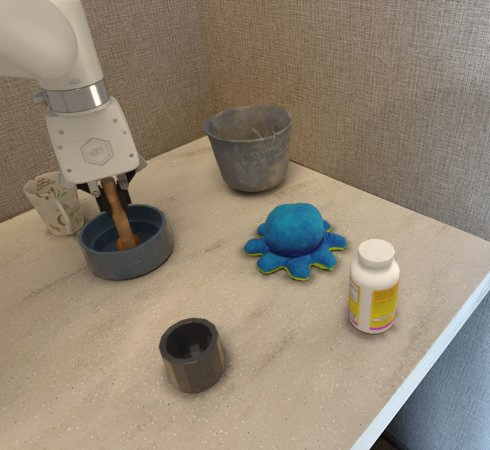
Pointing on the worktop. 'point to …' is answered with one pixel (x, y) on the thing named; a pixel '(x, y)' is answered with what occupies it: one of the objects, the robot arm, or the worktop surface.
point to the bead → (120, 246)
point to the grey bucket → (251, 145)
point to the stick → (118, 212)
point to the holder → (192, 355)
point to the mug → (55, 204)
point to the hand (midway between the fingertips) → (117, 210)
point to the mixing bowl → (131, 260)
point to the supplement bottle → (373, 287)
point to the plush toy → (295, 241)
